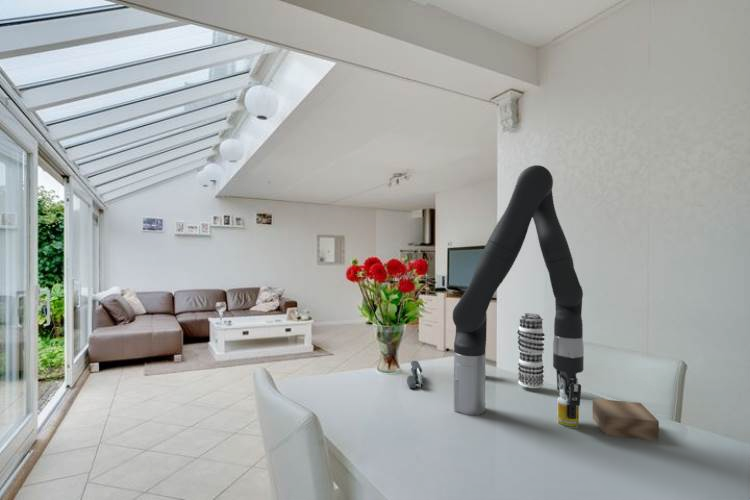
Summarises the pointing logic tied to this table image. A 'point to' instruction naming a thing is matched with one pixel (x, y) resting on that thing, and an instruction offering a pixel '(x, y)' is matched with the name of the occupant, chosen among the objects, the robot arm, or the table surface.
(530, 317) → the decorative candle
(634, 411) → the brown wooden block
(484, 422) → the table surface
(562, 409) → the supplement bottle
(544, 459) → the table surface
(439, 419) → the table surface
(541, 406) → the table surface
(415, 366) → the can opener
